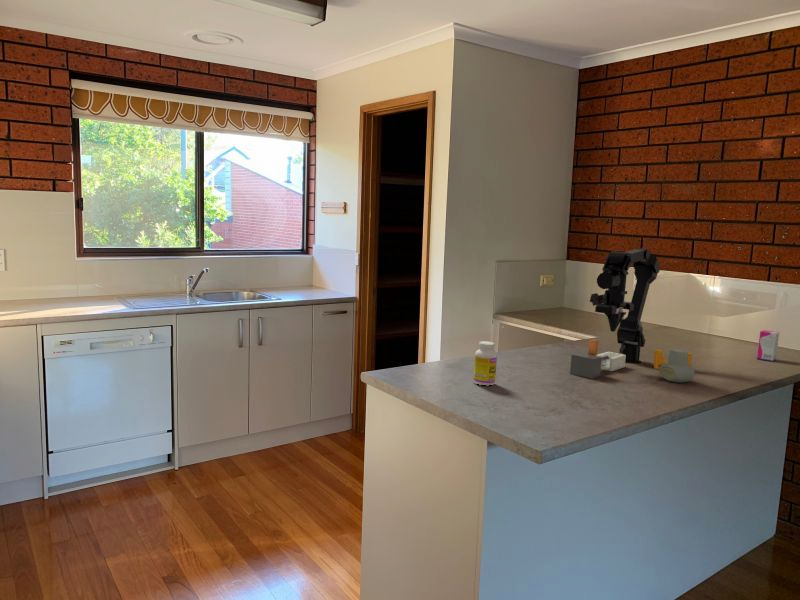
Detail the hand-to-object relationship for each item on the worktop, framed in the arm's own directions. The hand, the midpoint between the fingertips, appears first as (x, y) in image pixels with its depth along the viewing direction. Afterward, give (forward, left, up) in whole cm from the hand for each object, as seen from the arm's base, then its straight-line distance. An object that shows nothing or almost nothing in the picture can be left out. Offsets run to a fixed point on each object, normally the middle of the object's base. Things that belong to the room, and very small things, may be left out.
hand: (612, 331), depth 223 cm
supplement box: (-76, -12, -13) cm, 78 cm away
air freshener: (-14, +18, -13) cm, 27 cm away
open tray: (0, 0, -13) cm, 13 cm away
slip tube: (+9, +7, -12) cm, 16 cm away
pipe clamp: (-23, +3, -13) cm, 27 cm away
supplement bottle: (+54, +20, -13) cm, 59 cm away
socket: (+15, +11, -13) cm, 23 cm away
